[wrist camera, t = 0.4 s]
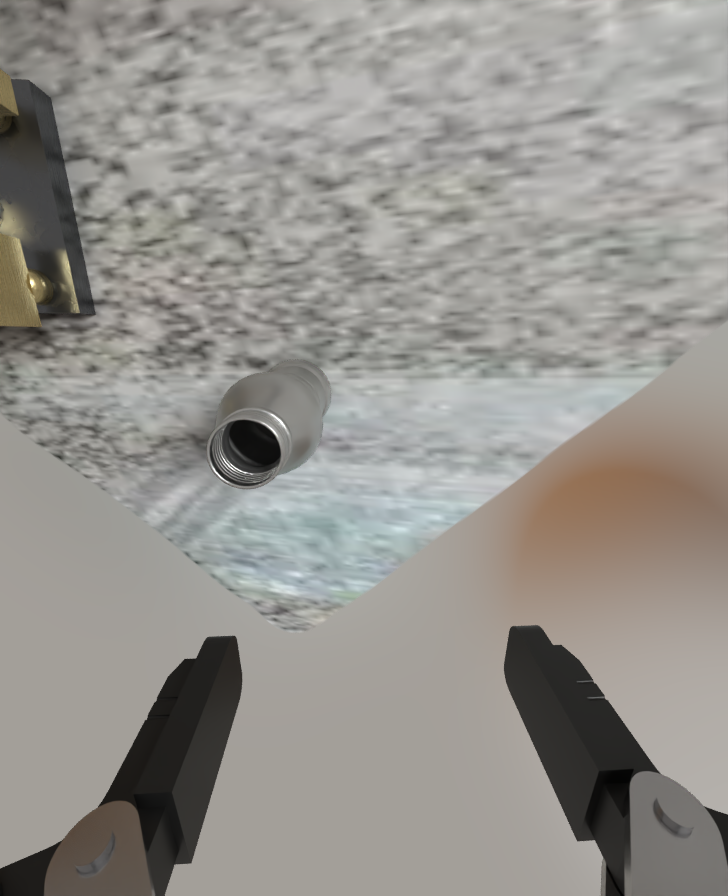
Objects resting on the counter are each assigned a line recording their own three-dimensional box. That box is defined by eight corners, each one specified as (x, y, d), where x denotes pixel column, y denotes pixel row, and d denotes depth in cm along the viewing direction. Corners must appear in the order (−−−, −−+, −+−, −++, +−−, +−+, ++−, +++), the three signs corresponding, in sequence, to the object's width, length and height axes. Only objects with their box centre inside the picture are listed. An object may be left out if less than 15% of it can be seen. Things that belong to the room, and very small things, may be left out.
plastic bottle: (253, 389, 35) (141, 453, 16) (301, 343, 34) (242, 351, 15) (298, 435, 37) (246, 541, 18) (346, 392, 36) (344, 456, 17)
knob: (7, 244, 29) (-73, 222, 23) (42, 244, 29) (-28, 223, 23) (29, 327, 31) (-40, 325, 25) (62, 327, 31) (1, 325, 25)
